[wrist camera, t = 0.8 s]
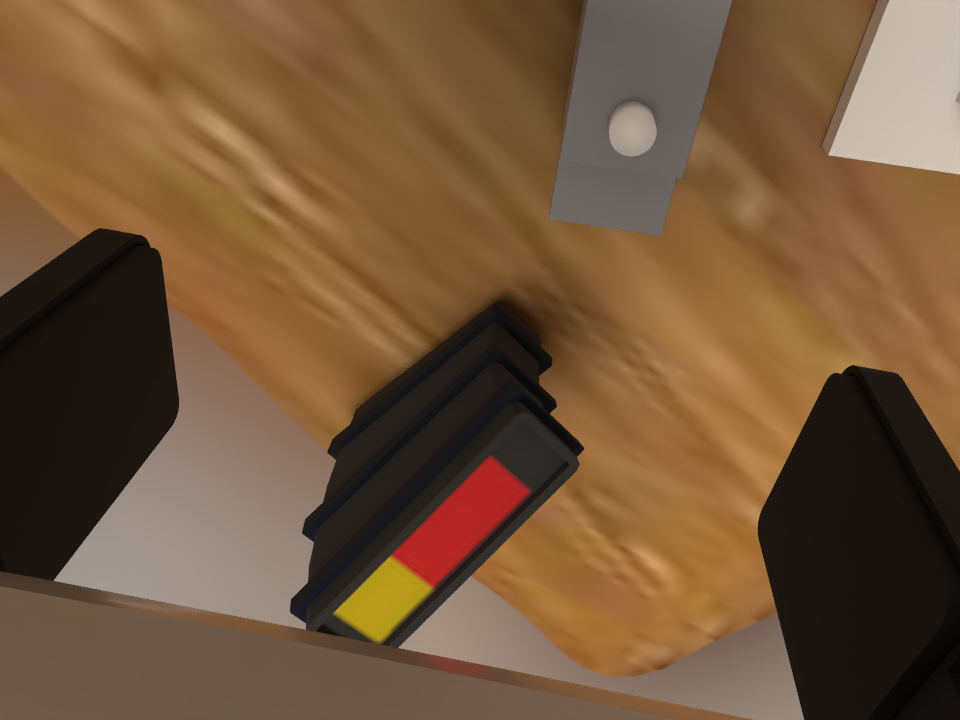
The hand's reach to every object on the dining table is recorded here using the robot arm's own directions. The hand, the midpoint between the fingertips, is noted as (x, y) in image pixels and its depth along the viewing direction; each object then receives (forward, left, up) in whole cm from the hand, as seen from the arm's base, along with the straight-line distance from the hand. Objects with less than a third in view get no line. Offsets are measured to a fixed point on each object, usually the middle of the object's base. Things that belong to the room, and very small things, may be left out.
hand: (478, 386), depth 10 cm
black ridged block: (+15, -2, -21) cm, 26 cm away
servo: (-1, +3, -21) cm, 21 cm away
